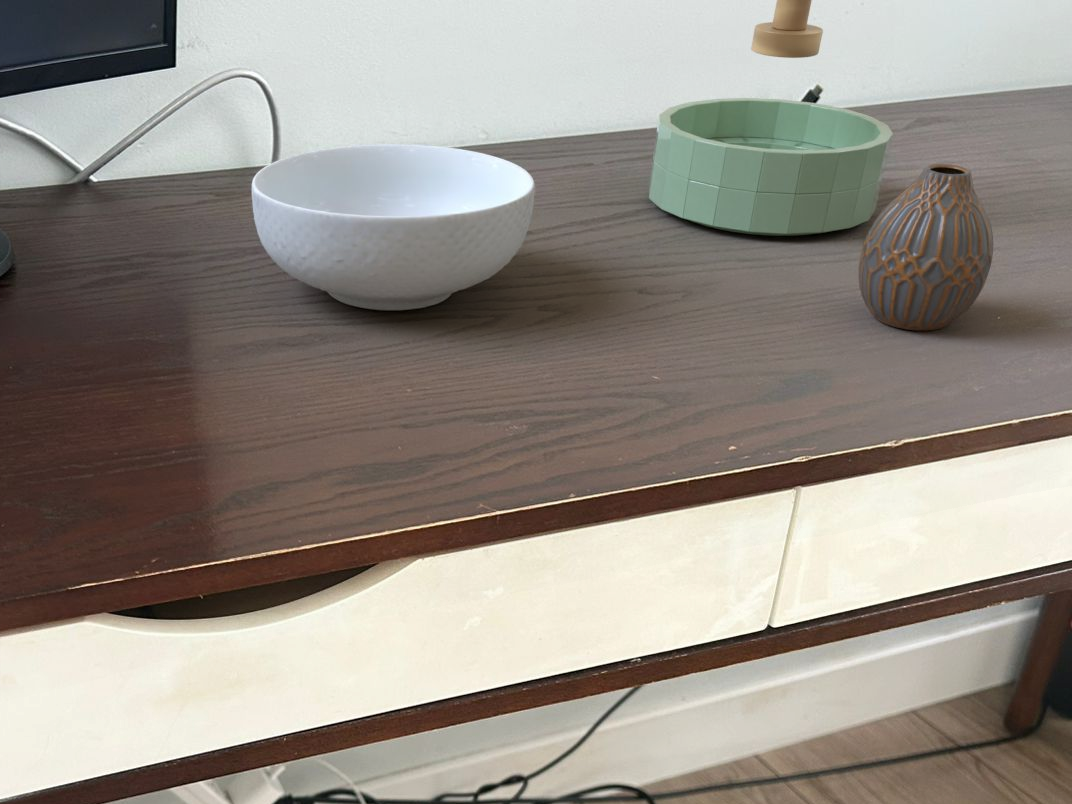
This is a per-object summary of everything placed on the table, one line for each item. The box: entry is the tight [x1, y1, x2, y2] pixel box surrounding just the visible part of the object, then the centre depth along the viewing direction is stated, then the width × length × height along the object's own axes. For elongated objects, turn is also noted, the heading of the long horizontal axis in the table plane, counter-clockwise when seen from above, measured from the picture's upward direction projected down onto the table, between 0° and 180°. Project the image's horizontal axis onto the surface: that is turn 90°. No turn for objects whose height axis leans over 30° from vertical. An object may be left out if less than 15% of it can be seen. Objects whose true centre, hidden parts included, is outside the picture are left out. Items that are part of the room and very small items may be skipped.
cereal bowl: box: [251, 143, 536, 311], centre depth 84 cm, size 17×17×7 cm
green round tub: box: [648, 97, 894, 237], centre depth 98 cm, size 16×16×6 cm
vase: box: [858, 163, 994, 332], centre depth 79 cm, size 7×7×9 cm
